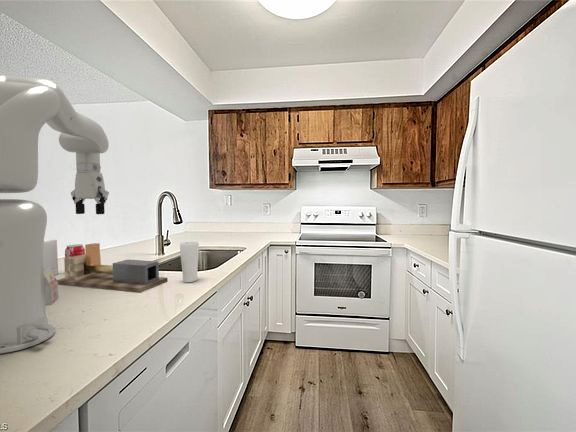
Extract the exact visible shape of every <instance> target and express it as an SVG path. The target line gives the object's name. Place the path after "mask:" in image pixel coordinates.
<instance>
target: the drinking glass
mask: <svg viewBox="0 0 576 432" xmlns="http://www.w3.org/2000/svg"><path fill="white" fill-rule="evenodd" d="M179 248H180V251H179V252H180V255H179V256H180V262H181V269H182V270H181V271H182V282H184V283H194V282H197V280H198V268H199V254H200V253H199V250H200V248H199V242H198V241H184V242H183V241H182V242H180V247H179Z"/></svg>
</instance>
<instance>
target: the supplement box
mask: <svg viewBox="0 0 576 432" xmlns="http://www.w3.org/2000/svg"><path fill="white" fill-rule="evenodd" d="M58 262H59V261H58V240H57V239H53V238H52V239H49V238H48V239H47V238H44V245H43V263H44V271H45V270H47V269H48V268H51V270H52V272H53V274H54V276H57V275H59V263H58Z"/></svg>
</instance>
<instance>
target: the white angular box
mask: <svg viewBox="0 0 576 432" xmlns="http://www.w3.org/2000/svg"><path fill="white" fill-rule="evenodd" d="M57 280H58V279H57V277H56V275H54V274H53V272H52V270H51V268H48V269H47V270H45V271H44V284H45V305H46V306H51V305H53V304H54V303H55V302H56V301H57V300H58V299H59V289H58V285H59V284H58V282H57Z"/></svg>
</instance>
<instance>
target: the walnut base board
mask: <svg viewBox="0 0 576 432" xmlns="http://www.w3.org/2000/svg"><path fill="white" fill-rule="evenodd" d="M57 282H58V285H61V286H69V287H70V286H71V287H72V286H73V287H79V288H80V287H82V288H91V289H101V290H110V291H119V292H130V293H131V292H132V293H138V294H139V293H142V292H145V291H147V290H151V289H153V288H155V287H157V286H160V285H162V284H165V283H167V282H168V277H165V276H164V277H163V276H159V280H157V281H155V282H152V283H150V284H147V285H138V284H127V283H116V282H113V274H104V273H101V274H98V275H95V276H91V277H88V278H84V279H80V280H68V279H65V277H63V278H59V279H57Z"/></svg>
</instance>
